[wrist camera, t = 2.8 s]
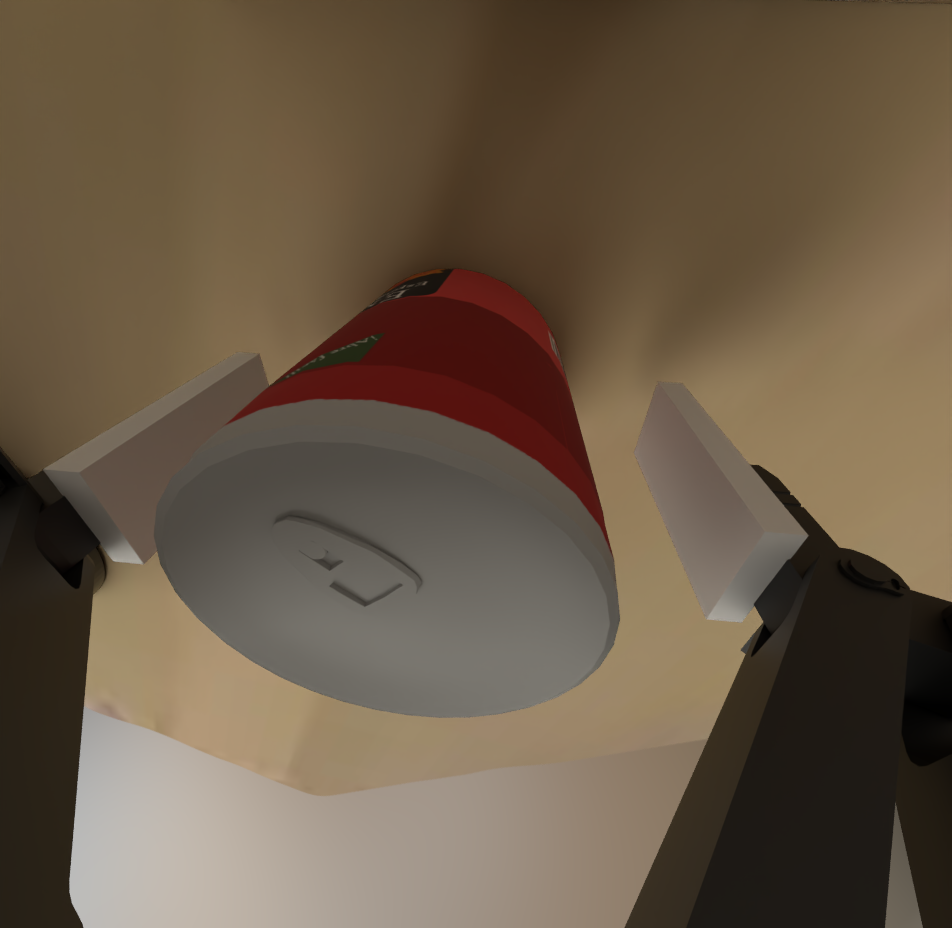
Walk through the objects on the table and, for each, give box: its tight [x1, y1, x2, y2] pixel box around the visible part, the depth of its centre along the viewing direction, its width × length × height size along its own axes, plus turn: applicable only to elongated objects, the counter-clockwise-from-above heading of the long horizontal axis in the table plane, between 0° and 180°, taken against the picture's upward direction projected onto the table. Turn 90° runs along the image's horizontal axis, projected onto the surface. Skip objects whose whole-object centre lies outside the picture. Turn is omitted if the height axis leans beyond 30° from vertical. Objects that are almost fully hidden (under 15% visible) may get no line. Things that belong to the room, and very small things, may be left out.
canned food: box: [154, 269, 620, 718], centre depth 11 cm, size 8×8×11 cm
